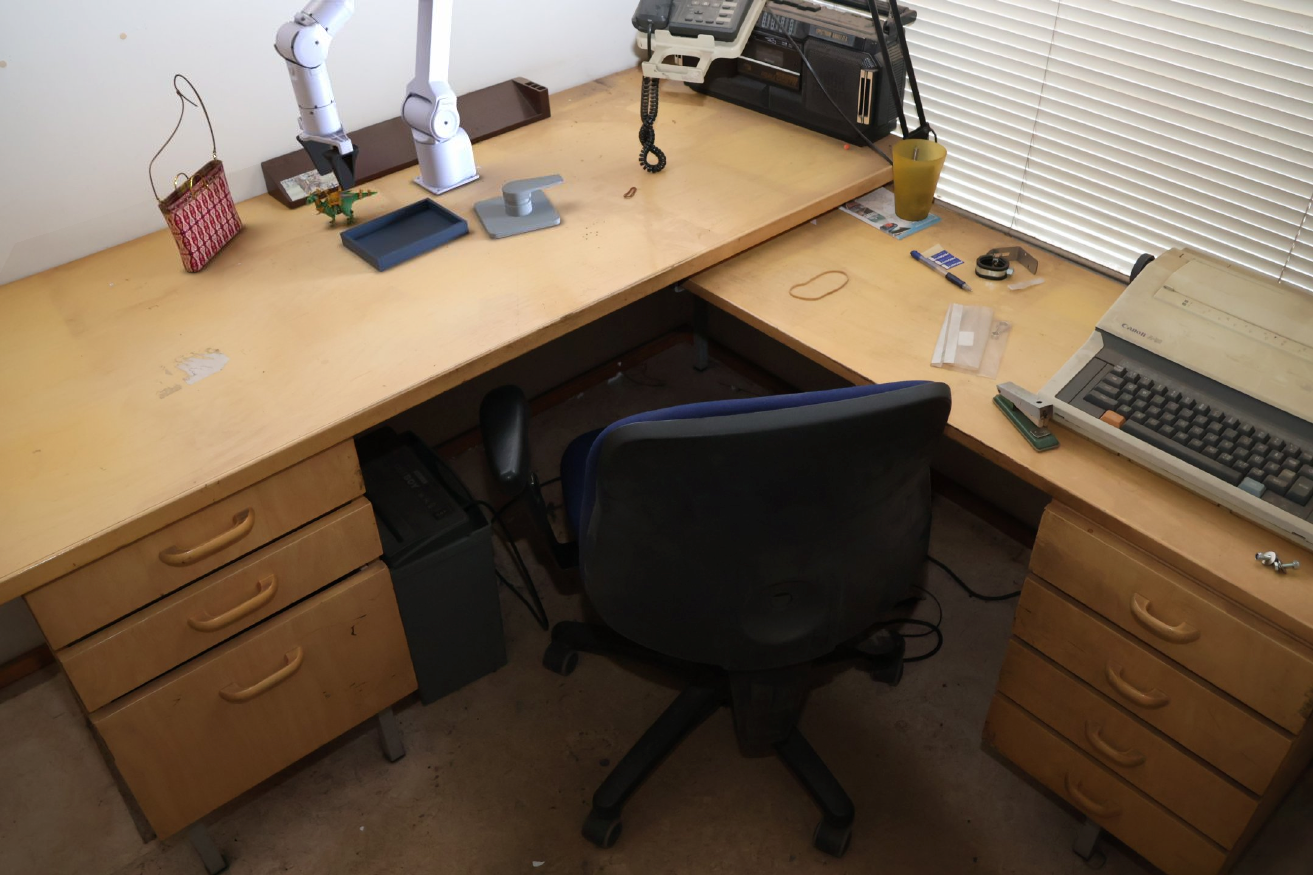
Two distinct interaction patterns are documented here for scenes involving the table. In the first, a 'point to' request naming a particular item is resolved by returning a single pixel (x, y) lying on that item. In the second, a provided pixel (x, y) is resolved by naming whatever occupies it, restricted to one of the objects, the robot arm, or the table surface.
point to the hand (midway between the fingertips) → (337, 181)
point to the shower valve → (519, 208)
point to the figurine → (337, 203)
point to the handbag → (200, 208)
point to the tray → (404, 233)
